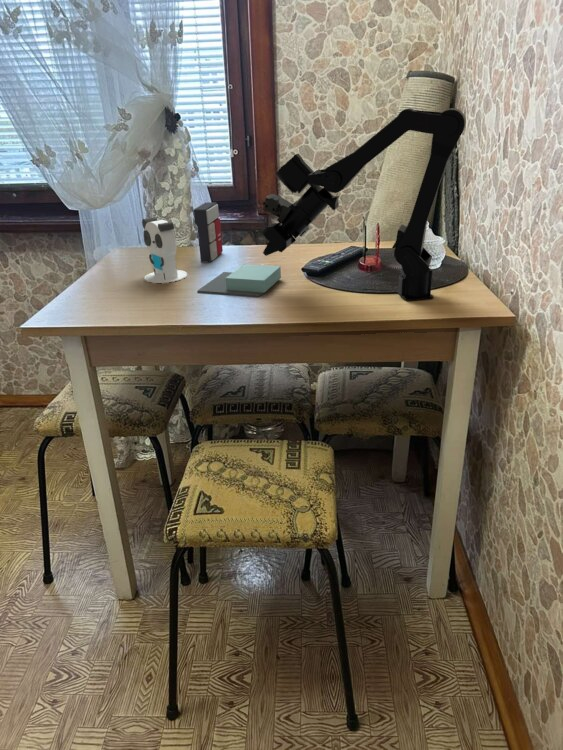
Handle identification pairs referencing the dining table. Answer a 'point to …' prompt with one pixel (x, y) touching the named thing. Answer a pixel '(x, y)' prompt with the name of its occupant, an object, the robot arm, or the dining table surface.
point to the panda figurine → (161, 251)
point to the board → (253, 278)
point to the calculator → (208, 231)
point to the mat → (224, 287)
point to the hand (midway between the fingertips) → (264, 254)
